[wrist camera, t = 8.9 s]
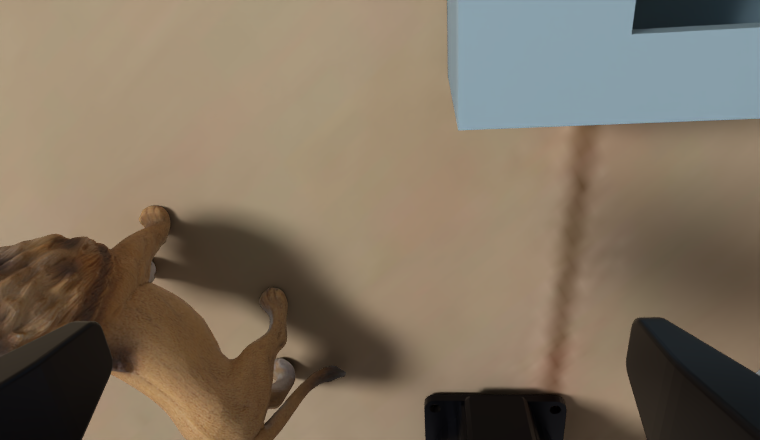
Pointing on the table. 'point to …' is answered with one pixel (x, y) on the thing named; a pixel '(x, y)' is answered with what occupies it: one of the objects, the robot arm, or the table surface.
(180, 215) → the table surface
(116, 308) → the lion figurine
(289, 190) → the table surface
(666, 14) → the tissue box
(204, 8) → the table surface
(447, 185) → the table surface
